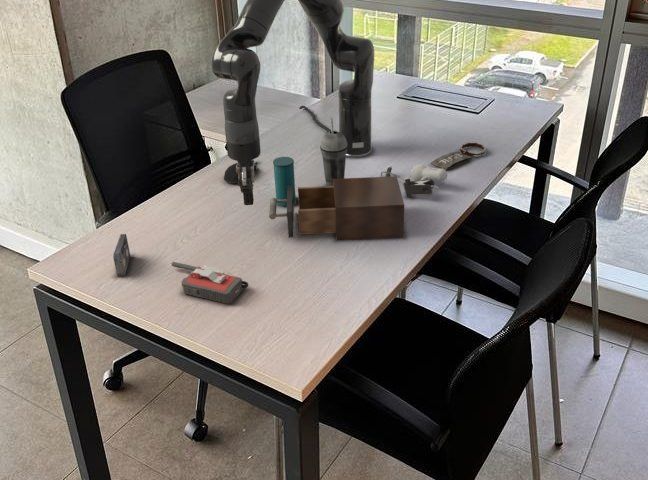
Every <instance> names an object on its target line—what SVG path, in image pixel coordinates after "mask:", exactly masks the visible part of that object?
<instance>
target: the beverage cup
mask: <svg viewBox="0 0 648 480" xmlns="http://www.w3.org/2000/svg"><path fill="white" fill-rule="evenodd" d="M333 119H334V117H333V116H331V117H330V130H331V131H330V132H328V131H327V132H326V133H325V134H324V135H323V136H322V138H321V140H320V145H319V149H320V153H321V156H322V165H323V171H324V173H323V174H324V179H325V180H324V181H325V186H333V179H343V178H345V176H346V175H345V173H346V160H347V156H346V153H347V148H348V145H347V141H346V138H345V137H344V135H343V134H341V133H340V132H339V130H338V131H337V130H334V121H333Z"/></svg>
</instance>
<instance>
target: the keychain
mask: <svg viewBox="0 0 648 480" xmlns="http://www.w3.org/2000/svg"><path fill="white" fill-rule="evenodd" d="M467 148H478V149H481V150H480V151H468V150H467ZM486 153H487V146H486V145H484V144H483V143H479V142H476V141H475V142H474V141H473V142H465V143H462V144H461V145H460V147H459V151H451V152H449V153H445V154H443V155H441V156H439V157H437V158H435V159H434V160H433V161H431V162H430V164H431V165H433V166H436V167H437V168H441V169H445V170H450V169H451V170H452V169H454V168H457V167H459V166H461V165H463V164H466V163H467V162H468V161H470V160H471V159H472V158H473V157H475V158H477V157H481V156H482V157H483V156H484V155H485V154H486Z"/></svg>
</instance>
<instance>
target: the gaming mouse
mask: <svg viewBox="0 0 648 480" xmlns="http://www.w3.org/2000/svg"><path fill="white" fill-rule="evenodd" d="M254 164H255V165H254V174H255V173H256V172H257V166H256V164H258V162H257V161H256V162H254ZM236 165H237V162H235V163H233V164H231V165H229V166H228V167H227V169H226V170H225V171H224V175H223V180H224V181H225V182H226V183H229V184H239V182H238V180H239V179H238V173H237V171H236Z"/></svg>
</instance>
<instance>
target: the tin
mask: <svg viewBox="0 0 648 480" xmlns="http://www.w3.org/2000/svg"><path fill="white" fill-rule="evenodd" d="M294 164H295V159H294V158H292V157H290V156H279V157H276V158H274V159H273V160H272V165H273V174H274V175H273V176H274V188H275V198H276V200H284V199H287V185H292V189H293V205H295V204H296V202H297V197H296V196H297V195H296V181H295V165H294ZM277 205H278V206H280V207H283V208H285V207H286V208H287V202H286V203H277Z"/></svg>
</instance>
